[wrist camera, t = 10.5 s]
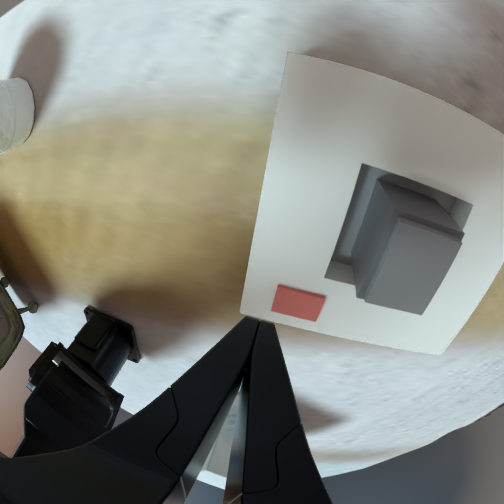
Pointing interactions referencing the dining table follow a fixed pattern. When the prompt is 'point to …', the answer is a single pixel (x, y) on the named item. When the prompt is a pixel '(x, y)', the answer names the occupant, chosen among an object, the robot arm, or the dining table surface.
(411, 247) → the plug
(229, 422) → the skincare box
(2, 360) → the tabletop clock
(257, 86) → the dining table surface
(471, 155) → the socket plate
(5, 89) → the white cup
